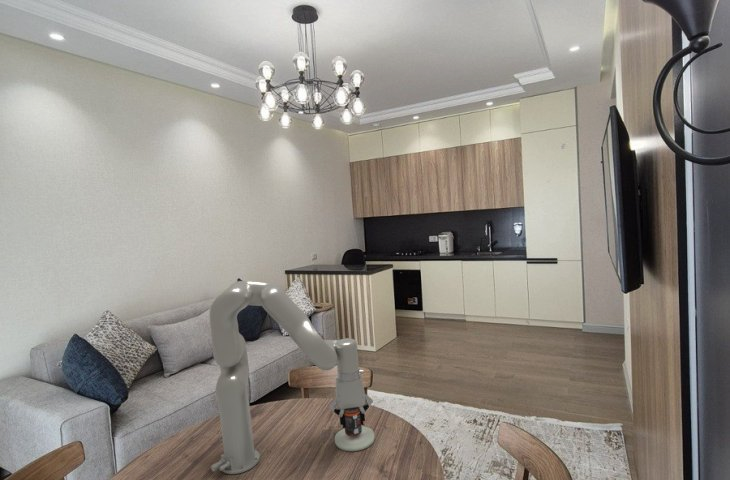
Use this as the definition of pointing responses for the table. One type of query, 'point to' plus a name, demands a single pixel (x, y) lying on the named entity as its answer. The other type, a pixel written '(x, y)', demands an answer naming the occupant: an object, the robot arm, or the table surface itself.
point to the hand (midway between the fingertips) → (352, 424)
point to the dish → (354, 440)
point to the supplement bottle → (352, 421)
